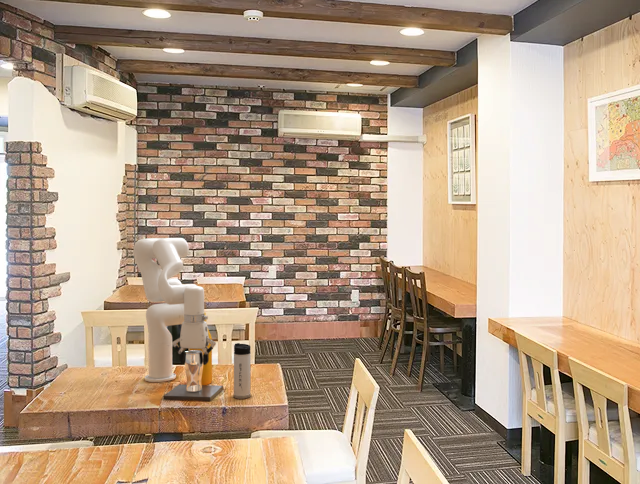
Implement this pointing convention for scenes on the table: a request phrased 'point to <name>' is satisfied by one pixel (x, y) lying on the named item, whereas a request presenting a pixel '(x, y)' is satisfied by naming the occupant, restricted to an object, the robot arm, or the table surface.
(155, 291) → the robot arm
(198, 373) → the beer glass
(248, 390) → the travel mug
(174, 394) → the serving board
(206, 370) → the beer bottle
